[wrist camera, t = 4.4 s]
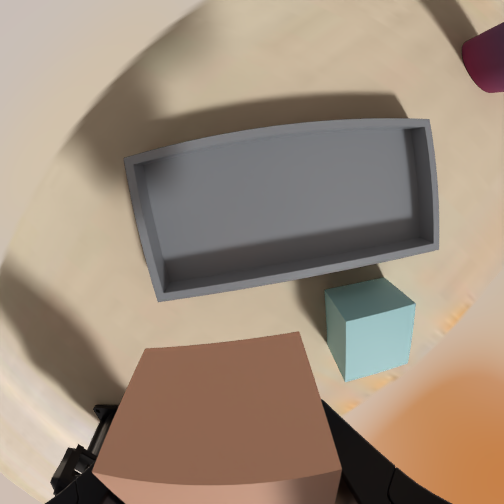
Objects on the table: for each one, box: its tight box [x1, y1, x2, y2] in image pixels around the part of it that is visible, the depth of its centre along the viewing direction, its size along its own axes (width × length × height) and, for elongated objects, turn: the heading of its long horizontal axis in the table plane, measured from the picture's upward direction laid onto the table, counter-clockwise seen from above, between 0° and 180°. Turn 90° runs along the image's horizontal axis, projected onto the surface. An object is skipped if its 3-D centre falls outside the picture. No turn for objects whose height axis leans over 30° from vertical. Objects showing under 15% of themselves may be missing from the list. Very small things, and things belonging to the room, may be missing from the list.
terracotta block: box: [92, 332, 342, 504], centre depth 6 cm, size 4×4×4 cm
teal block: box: [325, 277, 416, 382], centre depth 17 cm, size 4×4×4 cm
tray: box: [124, 118, 439, 302], centre depth 16 cm, size 18×8×2 cm, turn 100°
